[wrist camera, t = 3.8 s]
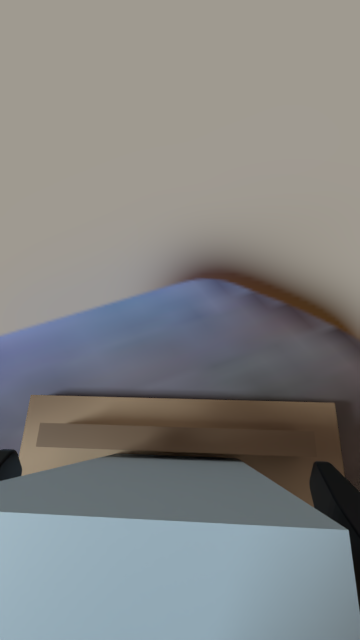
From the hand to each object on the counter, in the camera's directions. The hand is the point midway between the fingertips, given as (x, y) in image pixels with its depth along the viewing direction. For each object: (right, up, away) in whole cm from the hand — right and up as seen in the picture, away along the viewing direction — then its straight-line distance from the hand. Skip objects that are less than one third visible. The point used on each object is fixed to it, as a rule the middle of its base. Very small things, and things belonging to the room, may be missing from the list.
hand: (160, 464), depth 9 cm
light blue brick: (0, -4, +5) cm, 7 cm away
